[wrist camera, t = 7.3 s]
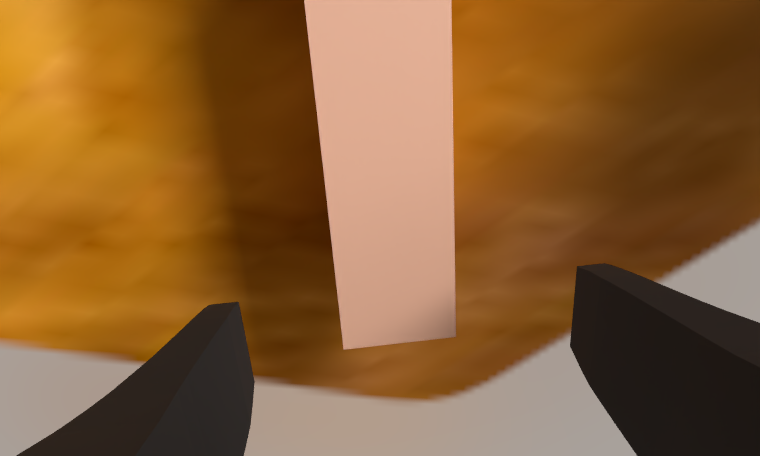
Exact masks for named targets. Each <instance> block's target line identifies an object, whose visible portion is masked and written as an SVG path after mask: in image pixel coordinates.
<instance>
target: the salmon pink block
mask: <svg viewBox="0 0 760 456" xmlns="http://www.w3.org/2000/svg"><path fill="white" fill-rule="evenodd" d="M304 3H305V12H306V21H307V30H308V39H309V48H310V57H311V65H312V74H313V83H314V92H315V101H316V110H317V118H318V127H319V136H320V145H321V154H322V162H323V171H324V180H325V189H326V198H327V207H328V215H329V224H330V233H331V242H332V251H333V260H334V268H335V277H336V286H337V295H338V304H339V313H340V321H341V330H342V339H343V348H344V350H345V349H354V348H362V347H371V346H380V345H388V344H397V343H406V342H415V341H423V340H432V339H441V338H449V337H456V313H455V240H454V167H453V94H452V20H451V0H304Z"/></svg>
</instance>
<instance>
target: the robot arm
mask: <svg viewBox="0 0 760 456" xmlns="http://www.w3.org/2000/svg"><path fill="white" fill-rule="evenodd" d="M570 347H571V349H572V351H573V353H574V355H575V357H576V359H577V362H578V363H579V366H580V368H581V370H582V372H583V374H584V376H585V378H586V380H587V382H588V383H589V385H590V387H591V388H592V390H593V391H594V393H595V395H596V396H597V398H598V399H599V401H600V402H601V403H602V405H603V406H604V408H605V409H606V411H607V412H608V414H609V415H610V417H611V418H612V420H613V421H614V423H615V424H616V426H617V427H618V428H619V430H620V431H621V433H622V434H623V436H624V437H625V439H626V440H627V441H628V443H629V444H630V446H631V447H632V449H633V450H634V452H635V453H636V454H637V456H760V323H758V322H756V321H753V320H750V319H747V318H745V317H741V316H739V315H736V314H733V313H731V312H728V311H725V310H722V309H720V308H717V307H715V306H712V305H710V304H707V303H705V302H702V301H700V300H697V299H695V298H692V297H690V296H687V295H685V294H682V293H680V292H678V291H675V290H673V289H670V288H668V287H666V286H663V285H661V284H658V283H656V282H654V281H651V280H649V279H646V278H644V277H642V276H639V275H637V274H634V273H632V272H629V271H626V270H624V269H621V268H618V267H615V266H612V265H609V264H605V263H604V264H595V265H585V266H577V274H576V285H575V296H574V308H573V319H572V331H571V342H570ZM253 392H254V377H253V372H252V367H251V362H250V357H249V352H248V347H247V342H246V337H245V332H244V327H243V322H242V317H241V312H240V307H239V302H232V303H223V304H213V305H208V306H207V307H206V308H204V309H203V310H202V311H201V312H200V313H199V314H198V315H197V316H196V317H194V318H193V319H192V320H191V321H190V322H189V323H188V324H187V325H186V326H185V327H184V328H183V329H182V330H181V331H180V332H179V333H178V334H177V335H175V336H174V337H173V338H172V339H171V340H170V341H169V342H168V343H167V344H166V345H165V346H164V347H162V348H161V349H160V350H159V351H158V352H157V353H156V354H155V355H154V356H153V357H152V358H150V359H149V360H148V361H147V362H146V363H145V364H143V365H142V366H141V367H140V368H139V369H137V370H136V371H135V372H134V373H133V374H132V375H130V376H129V377H128V378H127V379H126V380H124V381H123V382H122V383H121V384H120V385H118V386H117V387H116V388H115V389H114V390H112V391H111V392H110V393H109V394H107V395H106V396H105V397H104V398H102V399H101V400H99V401H98V402H97V403H95V404H94V405H93V406H92V407H90V408H89V409H87V410H86V411H85V412H83V413H82V414H80V415H79V416H77V417H76V418H75V419H73V420H72V421H71V422H69V423H67V424H66V425H65V426H63V427H62V428H60V429H59V430H57V431H56V432H54V433H53V434H51V435H49V436H48V437H46V438H44V439H43V440H41V441H39V442H38V443H36V444H35V445H33V446H31V447H30V448H28V449H26V450H25V451H23V452H22V453H20V454H18V455H17V456H244V451H245V447H246V443H247V438H248V434H249V429H250V424H251V414H252V404H253Z"/></svg>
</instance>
